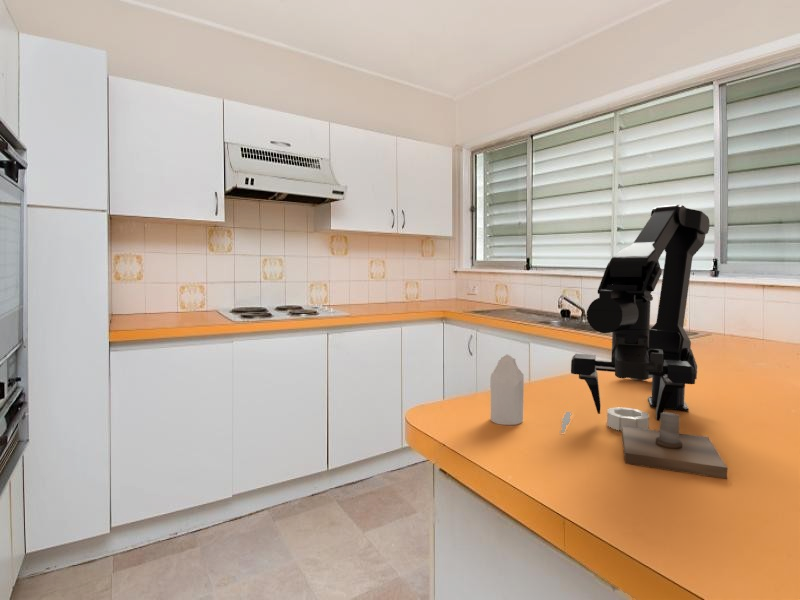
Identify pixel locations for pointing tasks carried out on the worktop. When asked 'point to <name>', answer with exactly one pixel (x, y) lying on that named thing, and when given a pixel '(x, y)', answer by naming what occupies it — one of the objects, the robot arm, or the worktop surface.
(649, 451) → the peg stand
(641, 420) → the ring
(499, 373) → the grey bullet shape
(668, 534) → the worktop surface
